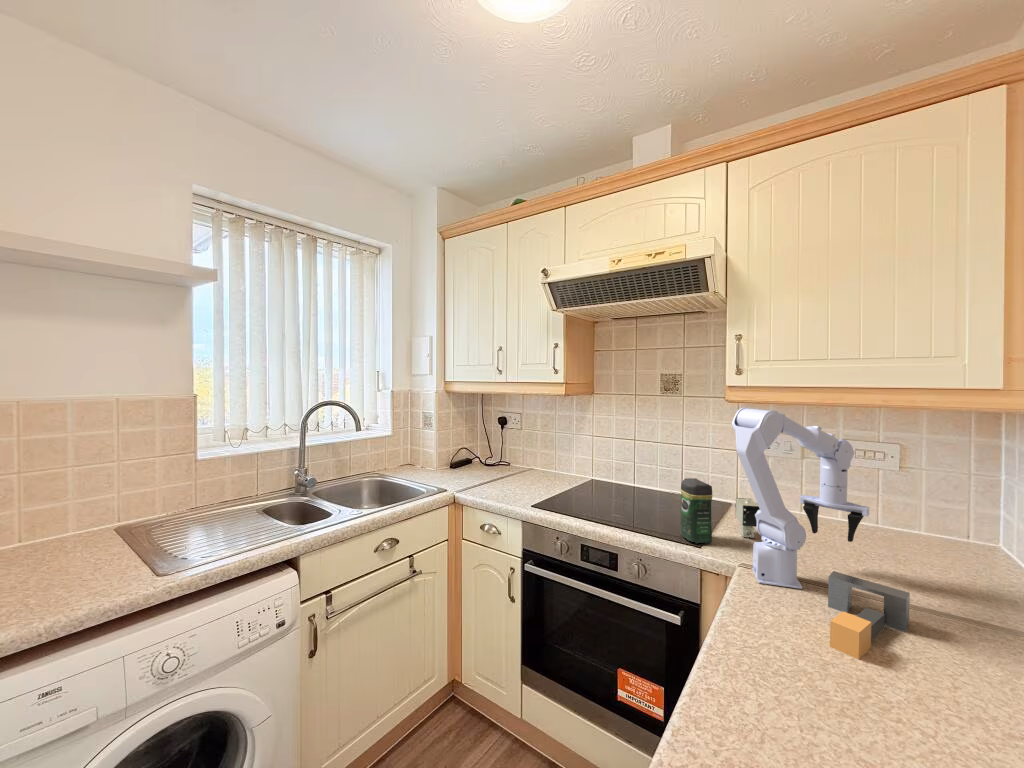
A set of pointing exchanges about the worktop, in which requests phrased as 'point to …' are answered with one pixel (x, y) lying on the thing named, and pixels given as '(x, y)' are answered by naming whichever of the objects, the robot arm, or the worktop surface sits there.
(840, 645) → the plug
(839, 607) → the grey arch bracket
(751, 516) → the pneumatic valve
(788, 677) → the worktop surface
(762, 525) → the robot arm
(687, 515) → the coffee jar
